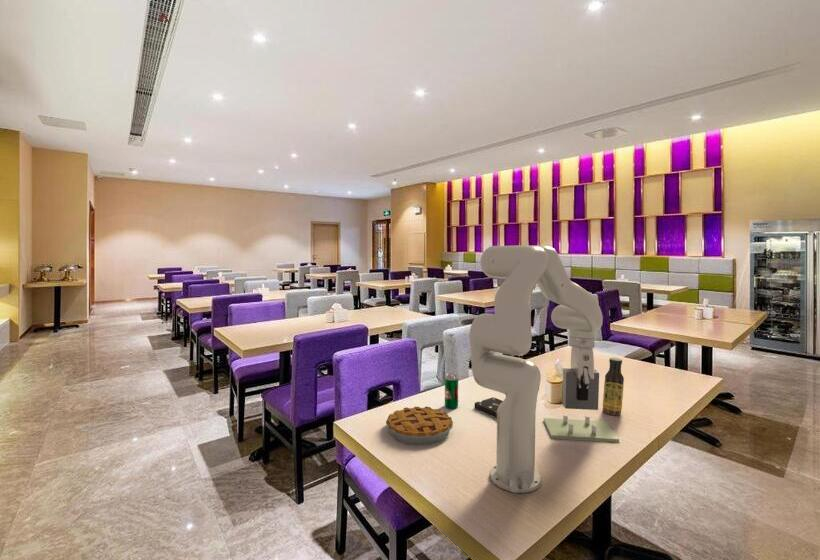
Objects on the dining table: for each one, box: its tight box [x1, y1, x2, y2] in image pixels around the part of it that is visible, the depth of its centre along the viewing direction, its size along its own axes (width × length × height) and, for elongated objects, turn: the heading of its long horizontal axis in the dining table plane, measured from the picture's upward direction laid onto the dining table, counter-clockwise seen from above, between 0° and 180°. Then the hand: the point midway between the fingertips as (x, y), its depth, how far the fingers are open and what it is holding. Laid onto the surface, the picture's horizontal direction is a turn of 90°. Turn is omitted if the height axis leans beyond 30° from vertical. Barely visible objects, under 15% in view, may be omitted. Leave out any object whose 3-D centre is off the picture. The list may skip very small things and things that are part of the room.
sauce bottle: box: [602, 357, 625, 416], centre depth 145 cm, size 7×6×20 cm
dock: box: [543, 414, 620, 443], centre depth 131 cm, size 13×20×4 cm, turn 82°
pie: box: [385, 406, 454, 445], centre depth 132 cm, size 22×22×5 cm
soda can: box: [444, 373, 459, 410], centre depth 151 cm, size 5×5×12 cm
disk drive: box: [474, 396, 504, 419], centre depth 147 cm, size 10×3×15 cm
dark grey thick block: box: [561, 367, 600, 411], centre depth 130 cm, size 4×10×12 cm, turn 82°
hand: (580, 396), depth 130 cm, fingers closed on dark grey thick block, 4 cm apart
